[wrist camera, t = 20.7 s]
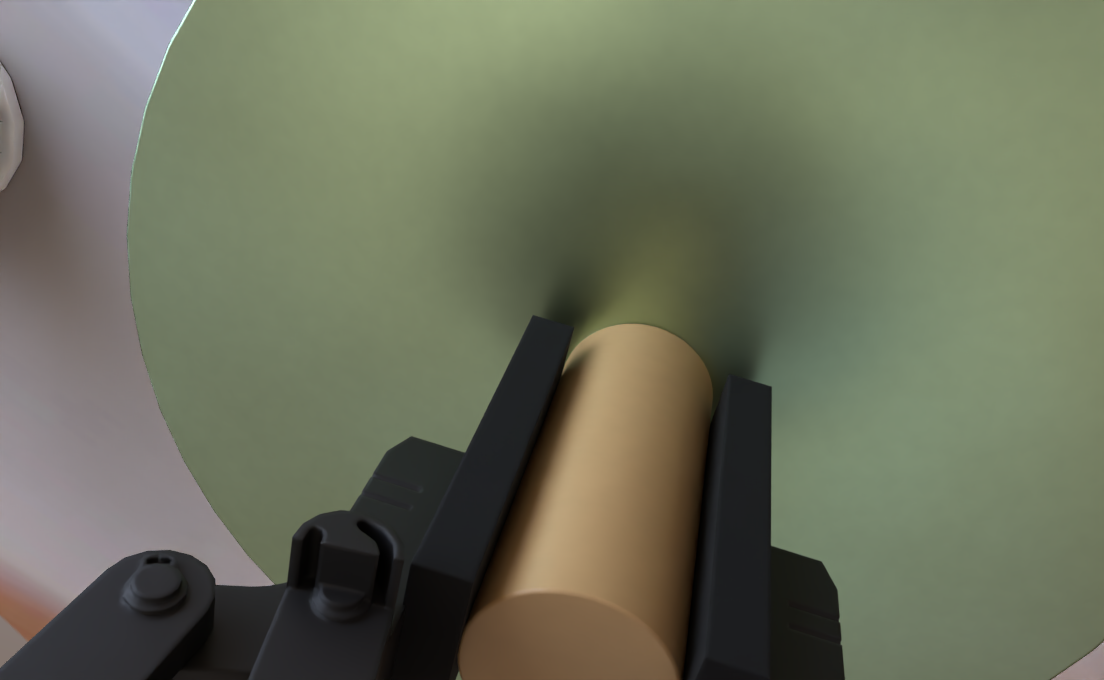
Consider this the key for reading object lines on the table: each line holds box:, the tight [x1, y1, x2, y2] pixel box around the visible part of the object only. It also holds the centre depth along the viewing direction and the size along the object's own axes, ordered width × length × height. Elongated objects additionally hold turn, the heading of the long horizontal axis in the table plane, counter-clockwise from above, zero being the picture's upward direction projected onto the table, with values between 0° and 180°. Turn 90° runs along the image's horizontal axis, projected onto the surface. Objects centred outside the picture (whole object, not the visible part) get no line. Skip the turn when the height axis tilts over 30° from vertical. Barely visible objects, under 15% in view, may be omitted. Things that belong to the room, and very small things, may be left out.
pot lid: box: [127, 0, 1104, 680], centre depth 15 cm, size 20×20×8 cm
